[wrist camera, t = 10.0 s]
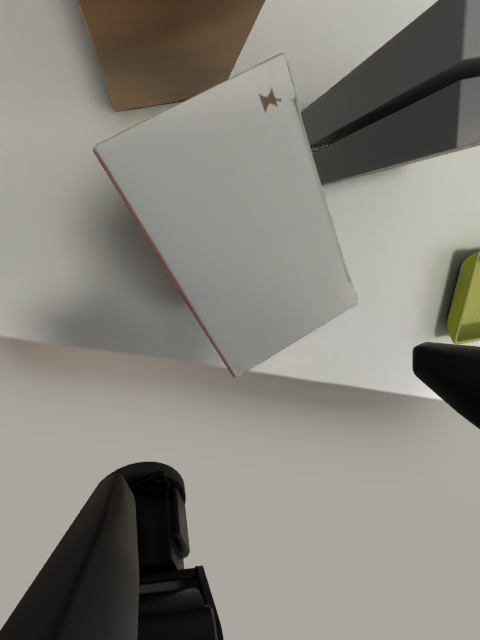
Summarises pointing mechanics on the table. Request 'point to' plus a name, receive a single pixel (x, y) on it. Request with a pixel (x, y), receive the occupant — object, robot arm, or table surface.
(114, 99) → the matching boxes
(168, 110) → the small box
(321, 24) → the table surface
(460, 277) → the green square tray
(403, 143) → the grey grooved block
